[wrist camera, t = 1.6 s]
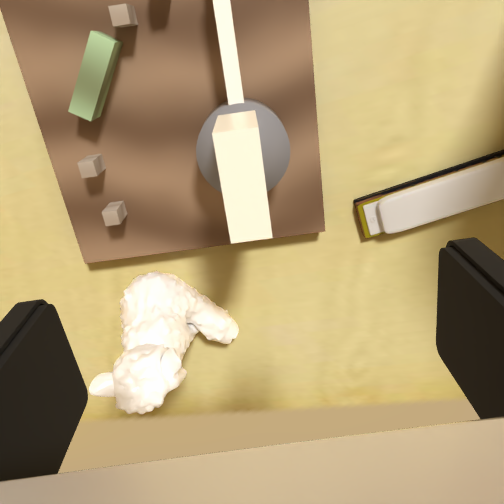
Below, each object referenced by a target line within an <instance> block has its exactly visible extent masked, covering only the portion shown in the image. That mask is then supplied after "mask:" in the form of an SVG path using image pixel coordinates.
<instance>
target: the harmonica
mask: <svg viewBox="0 0 504 504" xmlns="http://www.w3.org/2000/svg"><path fill="white" fill-rule="evenodd" d="M502 199H504V150H501V151H498V152H495V153H492V154H489V155H486V156H483V157H480V158H477V159H474V160H471V161H468V162H465V163H462V164H459V165H456V166H453V167H450V168H447V169H444V170H441V171H438V172H435V173H432V174H429V175H426V176H423V177H420V178H417V179H414V180H411V181H408V182H405V183H402V184H399V185H396V186H393V187H390V188H387V189H384V190H381V191H378V192H375V193H372V194H369V195H366V196H363V197H360V198H358V199H355V200H354V203H355V207H356V210H357V214H358V218H359V222H360V225H361V229H362V233H363V235H364V237H365V238H366V239H367V238H370V237H374V236H377V235H380V234H383V233H388V234H391V233H397V232H401V231H405V230H408V229H411V228H414V227H417V226H421V225H424V224H427V223H430V222H433V221H436V220H439V219H442V218H446V217H449V216H452V215H455V214H458V213H461V212H464V211H468V210H471V209H474V208H477V207H480V206H483V205H486V204H489V203H493V202H496V201H499V200H502Z"/></svg>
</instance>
